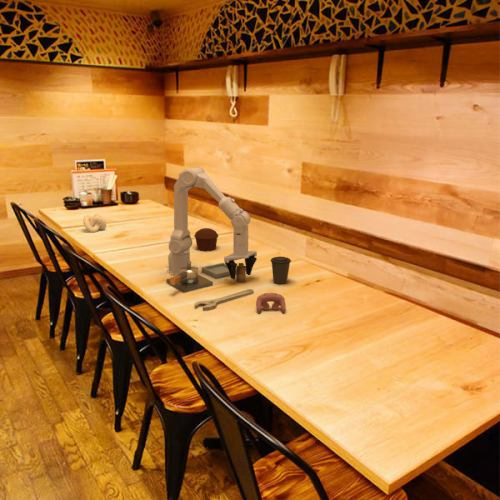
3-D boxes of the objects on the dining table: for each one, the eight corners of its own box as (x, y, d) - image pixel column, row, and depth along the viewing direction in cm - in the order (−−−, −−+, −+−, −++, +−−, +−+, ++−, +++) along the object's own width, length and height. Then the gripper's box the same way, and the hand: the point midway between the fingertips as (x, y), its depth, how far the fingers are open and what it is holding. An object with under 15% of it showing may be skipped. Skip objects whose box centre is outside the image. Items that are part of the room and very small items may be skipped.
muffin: (220, 246, 234) (220, 226, 231) (216, 252, 223) (216, 232, 221) (196, 245, 235) (196, 225, 232) (192, 251, 224) (191, 231, 222)
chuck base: (166, 282, 183) (166, 279, 183) (194, 276, 191) (194, 272, 191) (183, 292, 174) (183, 289, 173) (212, 285, 181) (212, 281, 181)
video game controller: (284, 313, 161) (284, 293, 162) (286, 312, 156) (285, 291, 157) (255, 313, 160) (255, 293, 161) (256, 313, 156) (256, 292, 157)
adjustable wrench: (250, 292, 176) (250, 287, 176) (261, 297, 171) (261, 293, 171) (192, 307, 162) (192, 302, 161) (201, 313, 157) (201, 308, 157)
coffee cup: (289, 286, 181) (290, 261, 179) (268, 284, 183) (268, 260, 180) (291, 279, 189) (292, 255, 186) (271, 277, 190) (272, 254, 188)
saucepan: (185, 276, 186) (185, 258, 184) (201, 278, 184) (201, 260, 182) (164, 290, 171) (163, 270, 169) (181, 292, 169) (180, 273, 167)
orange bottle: (234, 280, 186) (234, 263, 184) (240, 278, 189) (241, 261, 187) (240, 283, 184) (240, 265, 182) (247, 281, 186) (247, 263, 184)
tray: (201, 271, 196) (201, 267, 196) (223, 267, 203) (222, 262, 202) (216, 279, 188) (216, 274, 188) (238, 273, 195) (238, 269, 194)
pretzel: (82, 229, 264) (81, 213, 262) (104, 227, 269) (103, 211, 267) (84, 233, 254) (83, 217, 252) (107, 231, 259) (106, 215, 257)
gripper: (231, 248, 175) (231, 283, 178) (261, 242, 183) (261, 275, 187) (220, 244, 180) (221, 278, 184) (250, 238, 188) (250, 270, 192)
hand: (240, 276), depth 186 cm, fingers open, 7 cm apart
